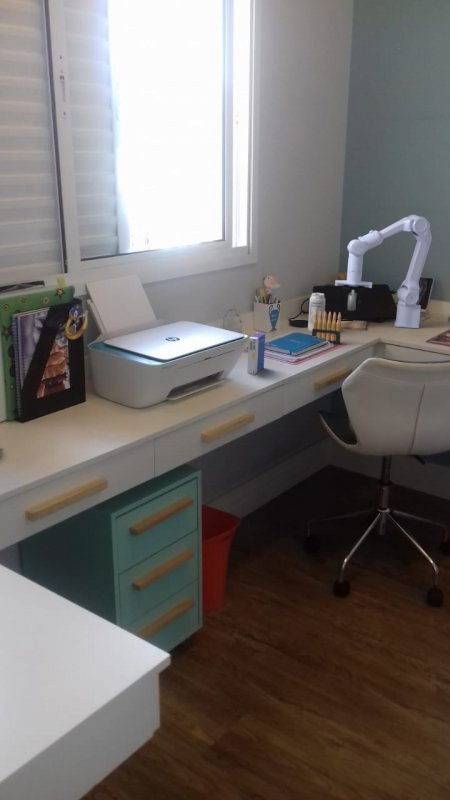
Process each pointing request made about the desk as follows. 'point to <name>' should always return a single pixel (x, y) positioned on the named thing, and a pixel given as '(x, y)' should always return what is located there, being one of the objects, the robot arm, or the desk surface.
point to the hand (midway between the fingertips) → (351, 304)
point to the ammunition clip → (329, 331)
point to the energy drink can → (316, 308)
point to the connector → (352, 301)
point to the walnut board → (353, 325)
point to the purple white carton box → (256, 353)
